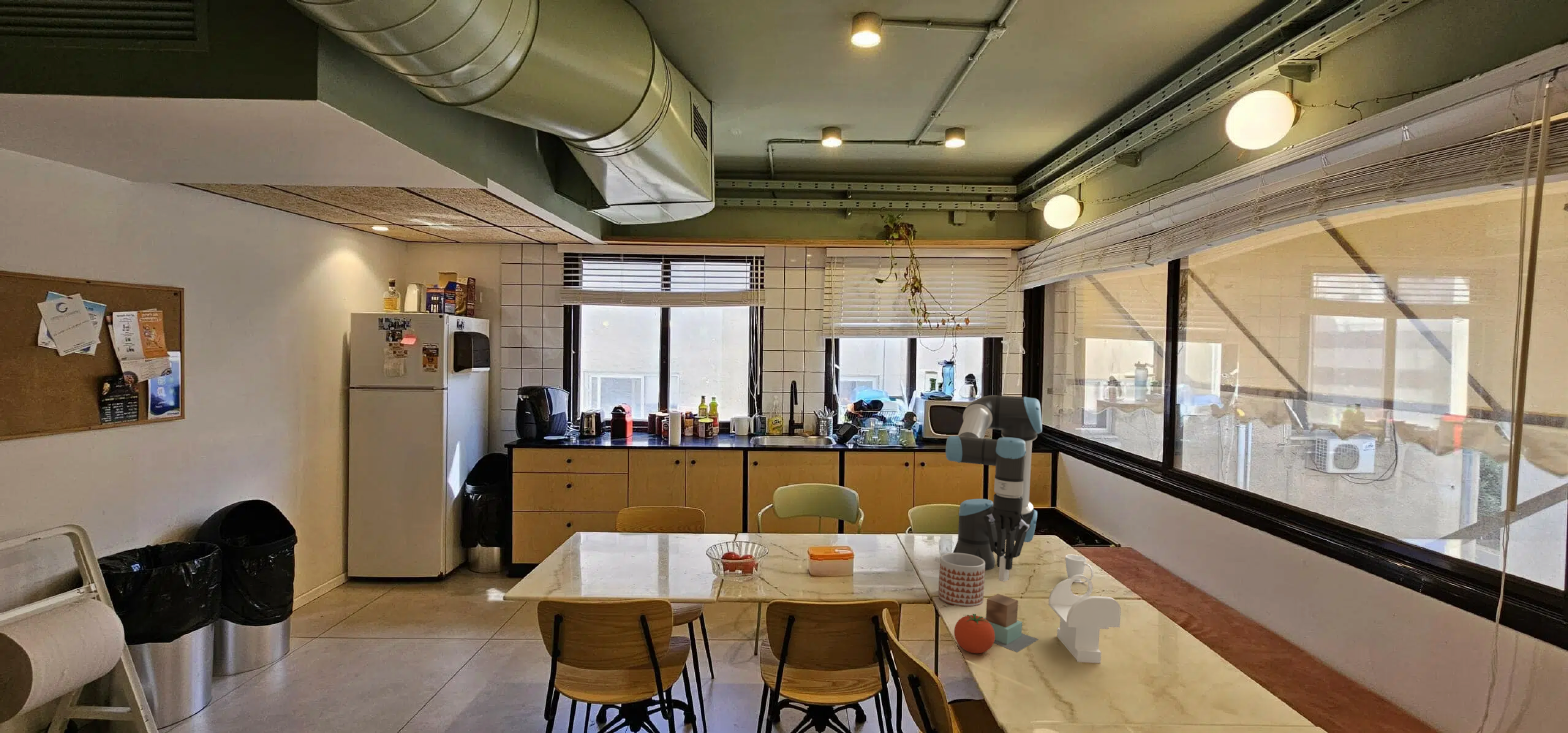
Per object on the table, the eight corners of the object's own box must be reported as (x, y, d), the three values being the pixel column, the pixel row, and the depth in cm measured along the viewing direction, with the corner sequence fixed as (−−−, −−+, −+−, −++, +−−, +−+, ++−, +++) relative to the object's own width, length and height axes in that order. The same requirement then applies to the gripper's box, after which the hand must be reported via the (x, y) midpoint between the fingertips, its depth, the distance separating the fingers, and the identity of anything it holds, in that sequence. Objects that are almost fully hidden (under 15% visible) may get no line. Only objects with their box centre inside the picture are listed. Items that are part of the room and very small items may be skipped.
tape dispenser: (1046, 637, 186) (1050, 573, 185) (1093, 639, 186) (1097, 575, 185) (1066, 661, 172) (1070, 592, 171) (1117, 664, 172) (1121, 595, 171)
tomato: (987, 665, 169) (989, 625, 168) (947, 653, 174) (949, 615, 174) (998, 649, 177) (1000, 612, 177) (960, 639, 183) (962, 603, 182)
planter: (986, 596, 215) (988, 556, 214) (979, 611, 202) (981, 569, 202) (943, 588, 221) (945, 549, 220) (933, 602, 208) (935, 561, 208)
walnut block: (985, 620, 185) (986, 598, 185) (996, 614, 189) (997, 593, 189) (1006, 627, 181) (1007, 605, 181) (1016, 621, 185) (1018, 600, 185)
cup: (1071, 575, 238) (1072, 553, 237) (1098, 584, 229) (1099, 561, 229) (1059, 578, 234) (1060, 556, 233) (1086, 588, 225) (1087, 564, 225)
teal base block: (979, 634, 185) (980, 620, 185) (994, 626, 191) (995, 612, 191) (1006, 644, 180) (1007, 629, 179) (1021, 636, 185) (1022, 622, 185)
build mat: (963, 632, 187) (963, 631, 187) (985, 621, 195) (985, 619, 195) (1017, 653, 175) (1017, 652, 175) (1038, 640, 184) (1038, 639, 184)
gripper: (979, 491, 186) (975, 576, 187) (1024, 501, 176) (1019, 590, 177) (993, 488, 191) (989, 570, 192) (1037, 497, 181) (1032, 584, 182)
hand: (1003, 580), depth 185 cm, fingers closed
